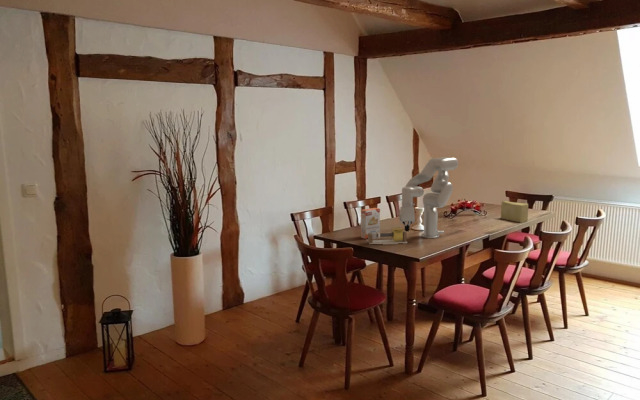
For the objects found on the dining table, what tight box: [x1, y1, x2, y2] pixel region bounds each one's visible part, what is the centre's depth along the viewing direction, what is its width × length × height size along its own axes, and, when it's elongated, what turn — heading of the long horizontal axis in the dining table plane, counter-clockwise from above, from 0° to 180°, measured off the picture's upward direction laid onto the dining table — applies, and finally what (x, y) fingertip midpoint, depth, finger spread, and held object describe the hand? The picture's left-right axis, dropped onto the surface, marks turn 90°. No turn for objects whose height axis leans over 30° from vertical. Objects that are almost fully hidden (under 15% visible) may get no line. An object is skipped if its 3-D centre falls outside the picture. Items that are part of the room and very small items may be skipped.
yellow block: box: [391, 226, 404, 241], centre depth 336 cm, size 6×7×8 cm
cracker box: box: [360, 207, 381, 240], centre depth 351 cm, size 14×6×21 cm, turn 126°
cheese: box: [500, 200, 529, 224], centre depth 399 cm, size 22×10×15 cm, turn 33°
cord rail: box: [367, 231, 408, 245], centre depth 335 cm, size 26×9×8 cm, turn 96°
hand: (407, 231), depth 336 cm, fingers closed
